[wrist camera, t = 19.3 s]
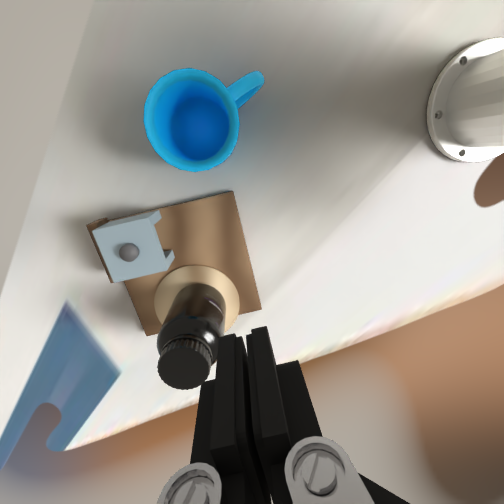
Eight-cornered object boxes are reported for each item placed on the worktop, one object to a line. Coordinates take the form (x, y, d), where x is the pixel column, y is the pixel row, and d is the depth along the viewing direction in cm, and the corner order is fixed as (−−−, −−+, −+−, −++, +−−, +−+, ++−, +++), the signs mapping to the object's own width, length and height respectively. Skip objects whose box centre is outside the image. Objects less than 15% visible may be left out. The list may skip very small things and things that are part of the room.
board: (231, 186, 34) (231, 190, 30) (264, 320, 41) (268, 338, 37) (103, 217, 35) (86, 225, 31) (154, 345, 41) (146, 366, 37)
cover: (159, 209, 33) (146, 219, 28) (174, 257, 35) (165, 273, 30) (108, 221, 33) (87, 232, 29) (127, 268, 35) (110, 286, 30)
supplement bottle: (233, 290, 37) (233, 350, 26) (216, 333, 39) (208, 407, 28) (181, 274, 36) (157, 329, 24) (166, 319, 38) (137, 389, 26)
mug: (196, 182, 34) (185, 190, 26) (149, 120, 32) (122, 109, 24) (279, 119, 32) (294, 107, 25) (237, 49, 30) (238, 12, 22)
